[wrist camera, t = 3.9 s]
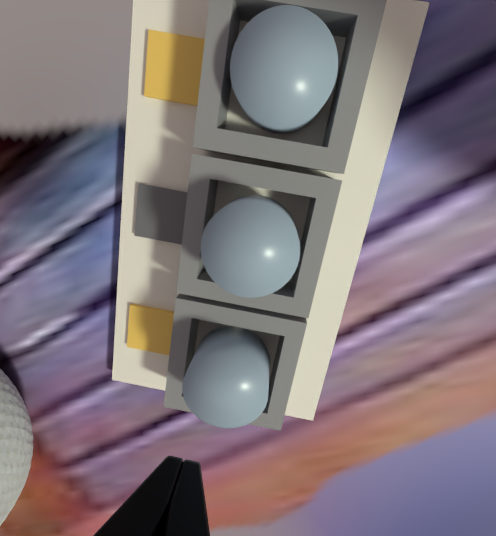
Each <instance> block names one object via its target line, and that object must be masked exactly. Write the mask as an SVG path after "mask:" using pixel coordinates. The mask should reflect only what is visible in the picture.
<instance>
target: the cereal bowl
mask: <svg viewBox="0 0 496 536" xmlns="http://www.w3.org/2000/svg"><path fill="white" fill-rule="evenodd" d="M32 454H33V434H32V425H31V422H30V417H29V415H28V411H27V408H26V406H25V405H24V401H23V399H22V397H21V396H20V394H19V392H18V390H17V389H16V386H14V385H13V383H12V381H11V380H10V379H9V378H8V376H7V375H5V374H4V372H3V371H2V370H1V369H0V525H1V524H2V523H3V522H4V520H5V519H6V517H7V515H8V514H9V512H10V511H11V510H12V508H13V506H14V505H15V503H16V501H17V499H18V497H19V495H20V494H21V492H22V489H23V487H24V486H25V483H26V479H27V477H28V474H29V470H30V467H31V459H32Z"/></svg>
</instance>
